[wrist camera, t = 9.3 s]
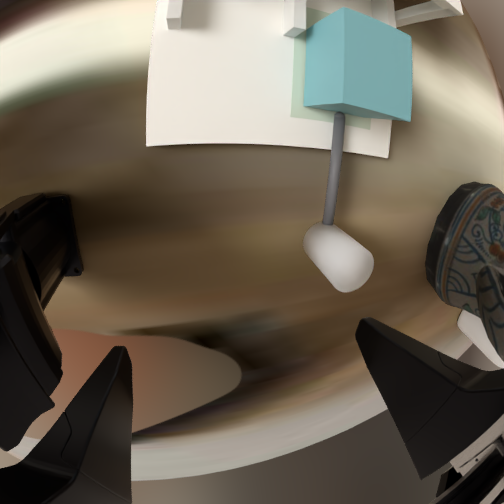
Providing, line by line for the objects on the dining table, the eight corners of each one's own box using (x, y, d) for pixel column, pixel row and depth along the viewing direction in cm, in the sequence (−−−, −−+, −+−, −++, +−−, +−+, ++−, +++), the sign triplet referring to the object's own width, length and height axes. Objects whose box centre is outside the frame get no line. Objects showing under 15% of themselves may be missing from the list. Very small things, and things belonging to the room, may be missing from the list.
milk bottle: (453, 333, 39) (512, 399, 22) (459, 307, 35) (530, 378, 18) (476, 312, 39) (535, 370, 22) (483, 285, 35) (551, 346, 18)
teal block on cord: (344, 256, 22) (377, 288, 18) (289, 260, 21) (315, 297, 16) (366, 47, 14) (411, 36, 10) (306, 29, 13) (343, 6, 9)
